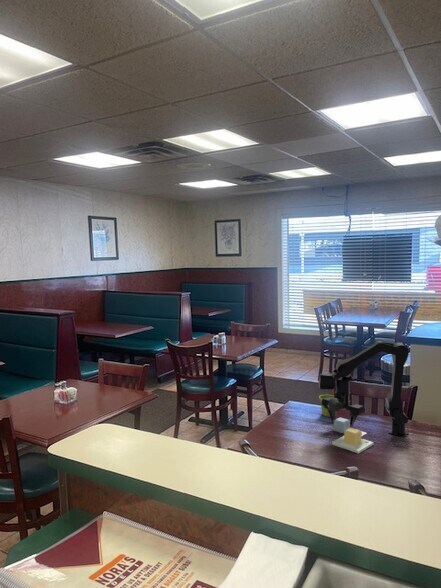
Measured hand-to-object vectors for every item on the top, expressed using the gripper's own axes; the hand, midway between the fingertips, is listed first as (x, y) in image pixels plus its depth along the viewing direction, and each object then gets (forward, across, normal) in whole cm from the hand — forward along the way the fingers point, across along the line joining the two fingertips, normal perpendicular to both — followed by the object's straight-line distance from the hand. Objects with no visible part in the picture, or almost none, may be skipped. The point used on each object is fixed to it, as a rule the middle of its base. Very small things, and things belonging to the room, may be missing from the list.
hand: (341, 424), depth 194 cm
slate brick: (+3, 0, 0) cm, 3 cm away
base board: (+3, +11, -10) cm, 15 cm away
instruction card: (+3, +7, +2) cm, 8 cm away
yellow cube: (+2, +11, -10) cm, 15 cm away
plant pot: (+3, -15, +13) cm, 20 cm away
